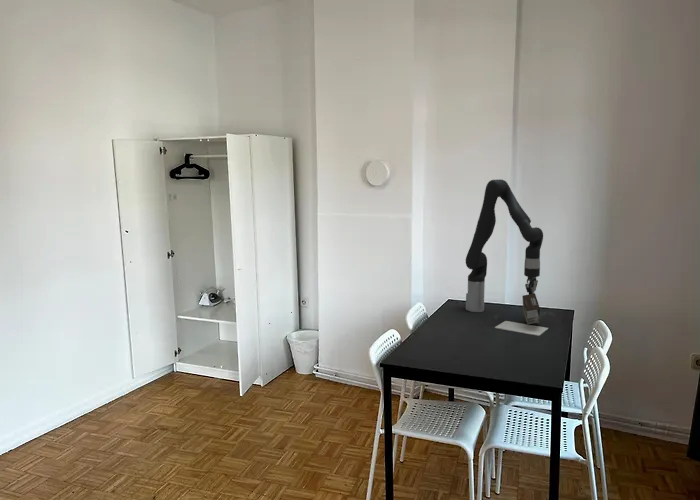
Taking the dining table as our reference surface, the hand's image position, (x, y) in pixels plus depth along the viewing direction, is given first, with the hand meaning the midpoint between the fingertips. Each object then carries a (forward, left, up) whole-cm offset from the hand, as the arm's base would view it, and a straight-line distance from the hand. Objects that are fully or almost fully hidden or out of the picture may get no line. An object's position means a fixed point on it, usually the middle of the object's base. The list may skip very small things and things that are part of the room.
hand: (531, 299), depth 270 cm
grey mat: (0, -12, -12) cm, 17 cm away
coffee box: (0, 0, -8) cm, 8 cm away
